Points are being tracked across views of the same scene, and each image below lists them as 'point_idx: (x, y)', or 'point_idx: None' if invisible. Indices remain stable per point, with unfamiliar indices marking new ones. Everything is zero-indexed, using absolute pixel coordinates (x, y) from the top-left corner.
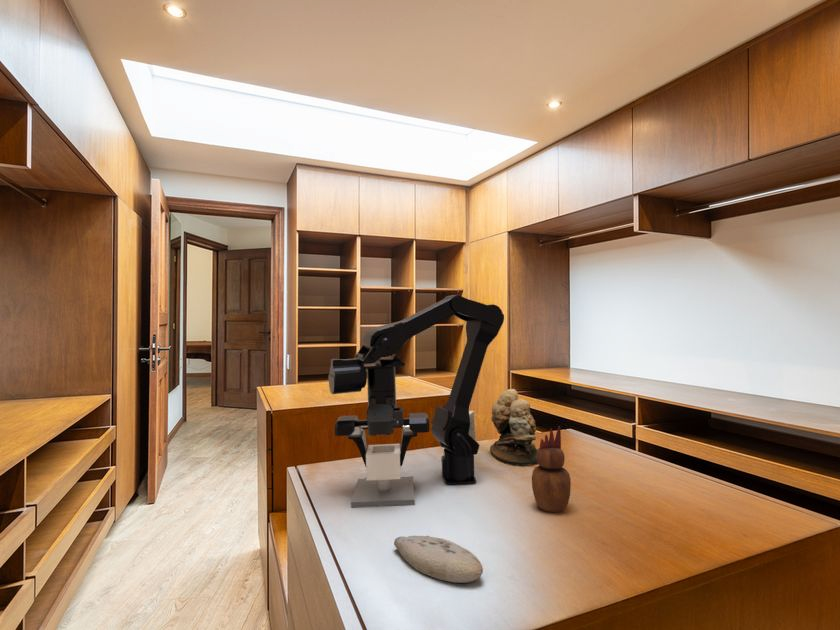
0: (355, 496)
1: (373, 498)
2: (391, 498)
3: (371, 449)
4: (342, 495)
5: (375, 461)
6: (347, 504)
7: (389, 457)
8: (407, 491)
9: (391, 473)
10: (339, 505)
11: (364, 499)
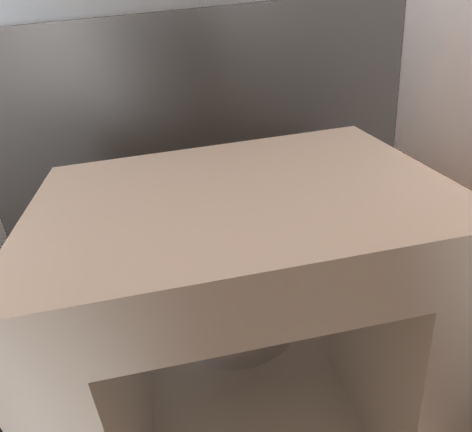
0: (382, 89)
1: (261, 55)
2: (129, 56)
3: (432, 426)
4: (440, 169)
5: (341, 201)
6: (412, 44)
7: (147, 258)
8: (39, 182)
9: (133, 173)
10: (457, 28)
11: (321, 38)
